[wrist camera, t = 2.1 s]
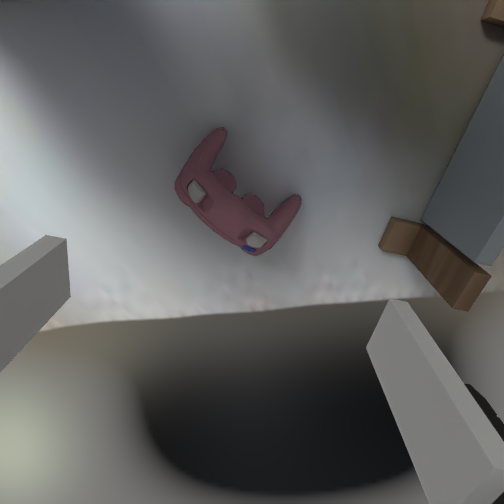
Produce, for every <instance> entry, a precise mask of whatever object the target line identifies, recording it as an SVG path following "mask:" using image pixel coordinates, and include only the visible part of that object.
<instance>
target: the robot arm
mask: <svg viewBox="0 0 504 504" xmlns="http://www.w3.org/2000/svg"><path fill="white" fill-rule="evenodd" d="M70 297H71V296H70V282H69V269H68V255H67V241H66V239H65V238H59V237H54V236H48V235H45V236H44V237H42V238H41V239H40V240H38V241H37V242H35V243H34V244H32V245H31V246H29V247H28V248H26V249H25V250H23V251H22V252H20V253H19V254H17V255H16V256H14V257H13V258H11V259H10V260H8V261H7V262H5V263H4V264H2V265H1V266H0V372H1V371H2V370H3V369H4V368H5V367H6V366H7V365H8V364H9V362H10V361H11V360H12V359H13V358H14V357H15V356H16V355H17V354H18V353H19V352H20V351H21V350H22V349H23V347H24V346H25V345H26V344H27V343H28V342H29V341H30V340H31V339H32V338H33V337H34V335H36V333H37V332H38V331H39V330H40V329H41V328H42V327H43V326H44V325H45V324H46V323H47V322H48V320H49V319H50V318H51V317H52V316H53V315H54V314H55V313H56V312H57V311H58V310H59V309H60V307H61V306H62V305H63V304H64V303H65V302H66V301H67V300H68V299H69V298H70ZM366 349H367V351H368V354H369V356H370V359H371V361H372V364H373V366H374V369H375V371H376V374H377V376H378V379H379V381H380V383H381V386H382V388H383V391H384V393H385V396H386V398H387V401H388V403H389V406H390V408H391V410H392V413H393V415H394V418H395V420H396V422H397V425H398V428H399V430H400V433H401V435H402V437H403V440H404V442H405V445H406V447H407V450H408V452H409V455H410V457H411V459H412V462H413V465H414V467H415V469H416V472H417V474H418V477H419V479H420V482H421V484H422V486H423V489H424V492H425V494H426V496H427V499H428V501H429V504H504V424H503V422H502V421H501V420H500V418H499V417H497V416H496V415H497V414H496V413H495V411H494V410H493V409H492V407H491V406H490V404H489V403H488V402H487V400H486V399H485V398H484V397H483V396H482V395H481V394H480V393H479V392H477V391H476V390H475V389H474V388H473V387H472V386H471V385H470V384H464V383H463V382H462V380H461V379H460V378H459V376H458V375H457V373H456V372H455V370H454V369H453V367H452V366H451V365H450V363H449V362H448V360H447V359H446V357H445V356H444V355H443V353H442V352H441V350H440V349H439V347H438V346H437V344H436V343H435V341H434V340H433V338H432V337H431V336H430V334H429V333H428V332H427V330H426V328H425V327H424V325H423V324H422V323H421V321H420V320H419V318H418V317H417V315H416V314H415V313H414V311H413V310H412V308H411V307H410V305H409V304H408V303H407V302H405V301H399V300H394V299H389V301H388V304H387V306H386V307H385V310H384V312H383V314H382V316H381V318H380V320H379V322H378V324H377V326H376V328H375V330H374V333H373V335H372V337H371V339H370V341H369V343H368V345H367V347H366Z"/></svg>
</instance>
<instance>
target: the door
mask: <svg viewBox="0 0 504 504" xmlns="http://www.w3.org/2000/svg"><path fill="white" fill-rule="evenodd" d="M421 220H422V221H424V222H425V223H426V224H427V225H429V226H430V227H431V228H432V229H434V230H435V231H436V232H437V233H439V234H440V235H441V236H442V237H444V238H445V239H446V240H447V241H449V242H450V243H451V244H452V245H454V246H455V247H456V248H457V249H459V250H460V251H461V252H462V253H464V254H465V255H466V256H467V257H469V258H470V259H471V260H472V261H474V262H475V263H480V264H484V265H489V266H491V265H492V264H493V262H494V261H495V259H496V258H497V256H498V254H499V253H500V251H501V250H502V248H503V247H504V55H503V57H502V59H501V61H500V63H499V65H498V67H497V69H496V71H495V73H494V75H493V77H492V79H491V81H490V83H489V85H488V87H487V89H486V91H485V93H484V95H483V97H482V99H481V101H480V103H479V105H478V107H477V109H476V111H475V113H474V115H473V117H472V119H471V121H470V123H469V125H468V127H467V129H466V131H465V133H464V135H463V137H462V139H461V141H460V143H459V145H458V147H457V149H456V151H455V153H454V155H453V157H452V159H451V161H450V163H449V165H448V167H447V169H446V171H445V173H444V175H443V177H442V179H441V181H440V183H439V185H438V187H437V189H436V191H435V193H434V195H433V197H432V199H431V201H430V203H429V205H428V207H427V209H426V211H425V213H424V215H423V217H422V219H421Z"/></svg>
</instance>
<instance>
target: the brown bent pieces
mask: <svg viewBox="0 0 504 504" xmlns="http://www.w3.org/2000/svg"><path fill="white" fill-rule="evenodd" d="M481 20H483V21H486V22H490V23H493V24H497V25H500V26H503V27H504V0H490V1H489V3H488V5H487V8H486V10H485V12H484V14H483V16H482V19H481ZM378 246H379V247H380V249H381V250H383V251H387V252H392V253H396V254H400V255H405V256H407V257H408V258H409V260H410V261H411V262H412V263H413V264H414V265H415V266H416V267H417V269H418V270H419V271H420V272H421V273H422V274H423V275H424V277H425V278H426V279H427V280H428V281H429V282H430V283H431V285H432V286H433V287H434V288H435V289H436V290H437V291H438V292H439V294H440V295H441V296H442V297H443V298H444V299H445V300H446V302H447V303H448V304H449V305H450V306H451V307H452V308H454V309H459V310H463V311H468V310H469V309H470V308H471V306H472V305H473V303H474V302H475V300H476V299H477V297H478V296H479V294H480V293H481V291H482V290H483V288H484V287H485V285H486V284H487V282H488V281H489V279H490V278H491V275H490V274H488V273H487V272H486V271H485V270H483V269H482V268H481V267H480V266H478V265H477V264H476V263H475V262H473V261H472V260H471V259H470V258H468V257H467V256H466V255H465V254H464V253H462V252H461V251H460V250H459V249H457V248H456V247H455V246H454V245H452V244H451V243H450V242H449V241H447V240H446V239H445V238H444V237H442V236H441V235H440V234H439V233H437V232H436V231H435V230H434V229H432V228H431V227H430V226H429V225H425V224H421V223H416V222H412V221H408V220H404V219H399V218H395V217H391V219H390V221H389V223H388V225H387V228H386V230H385V232H384V234H383V236H382V239H381V241H380V243H379V245H378Z"/></svg>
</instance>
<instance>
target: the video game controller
mask: <svg viewBox="0 0 504 504" xmlns="http://www.w3.org/2000/svg"><path fill="white" fill-rule="evenodd" d="M226 136H227V130H226V128H224V127H220V128H217V129H216V130H214V131H213V132H211V133H210V134H209V135H208V136H207V137H206V138H205V139H204V140H203V141H202V143H201V144H200V145H199V146H198V147H197V148H196V149H195V150H194V152H193V153H192V155H191V156H190V157H189V159H188V161H187V162H186V164H185V166H184V167H183V169H182V171H181V172H180V174H179V175H178V177H177V179H176V180H175V190H176V193H177V195H178V197H179V198H180V199H181V201H182V202H183V203H184V204H186V205H187V206H189V207H190V208H191V209H192V210H193V211H194V213H195V214H196V215H197V216H198V217H199V218H200V219H201V220H202V221H203V222H204V223H205V224H206V225H207V226H208V227H210V228H211V229H212V230H213V231H214V232H216V233H217V234H219V235H220V236H221V237H223V238H224V239H226V240H228V241H229V242H231V243H233V244H235V245H237V246H239V247H240V248H241V249H242V250H243V251H245V252H246V253H248V254H250V255H256V256H257V255H260V254H262V253H264V252H265V251H267V250H269V249H270V248H272V247H273V245H274V244H275V243H276V242H277V241H278V240H279V238H280V237H281V236H282V234H283V233H284V232H285V230H286V229H287V227H288V226H289V225H290V223H291V222H292V220H293V218H294V217H295V215H296V214H297V212H298V210H299V208H300V206H301V201H302V200H301V196H300V195H298V194H297V195H293V196H291V197H290V198H288V199H287V200H285V201H284V202H283V203H282V204H281V205H280V206H278V207H277V208H276V209H275V210H274V211H273V212H272V214H271V215H270V216H269V217H268V218H266V217H265V215H264V206H263V203H262V202H261V200H260V199H259V198H258V197H257V196H255V195H253V194H246V195H244V196H243V197H242V198H241V199H240V198H239V197H237V196H236V195H234V194H233V192H234V191H235V189H236V181H235V179H234V178H233V176H232V175H231V174H230V173H228V172H227V171H225V170H222V169H221V170H216V171H211V168H212V165H213V162H214V160H215V158H216V156H217V154H218V153H219V151H220V149H221V148H222V146H223V144H224V142H225V139H226Z"/></svg>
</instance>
